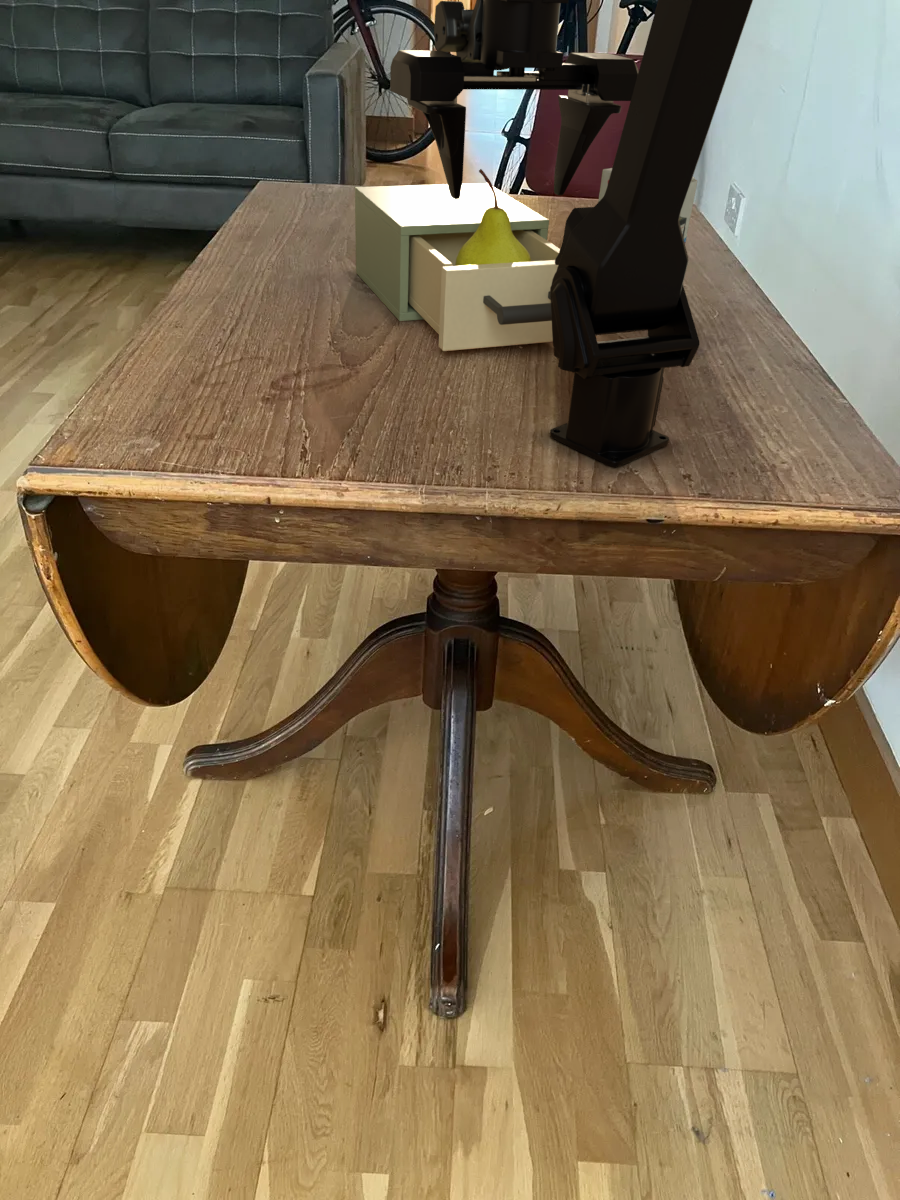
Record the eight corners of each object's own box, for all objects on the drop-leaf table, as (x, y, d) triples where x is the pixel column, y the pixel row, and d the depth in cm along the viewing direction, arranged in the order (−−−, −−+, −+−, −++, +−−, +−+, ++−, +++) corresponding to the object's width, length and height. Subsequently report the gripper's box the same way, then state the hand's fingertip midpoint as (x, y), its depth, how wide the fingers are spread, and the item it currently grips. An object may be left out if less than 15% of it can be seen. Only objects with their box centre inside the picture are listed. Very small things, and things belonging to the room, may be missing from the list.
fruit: (534, 305, 88) (548, 167, 81) (519, 328, 83) (532, 182, 76) (463, 295, 89) (471, 158, 82) (444, 318, 84) (450, 173, 77)
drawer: (608, 359, 81) (620, 279, 77) (463, 373, 77) (467, 289, 73) (519, 289, 95) (525, 219, 91) (392, 298, 91) (393, 224, 87)
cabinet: (540, 310, 93) (549, 219, 88) (399, 321, 89) (400, 226, 84) (482, 265, 105) (487, 182, 100) (355, 272, 100) (354, 186, 95)
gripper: (589, -32, 77) (567, 173, 86) (370, -42, 71) (371, 178, 80) (658, -26, 69) (626, 201, 77) (415, -37, 63) (410, 209, 72)
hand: (507, 196), depth 77 cm, fingers open, 9 cm apart
